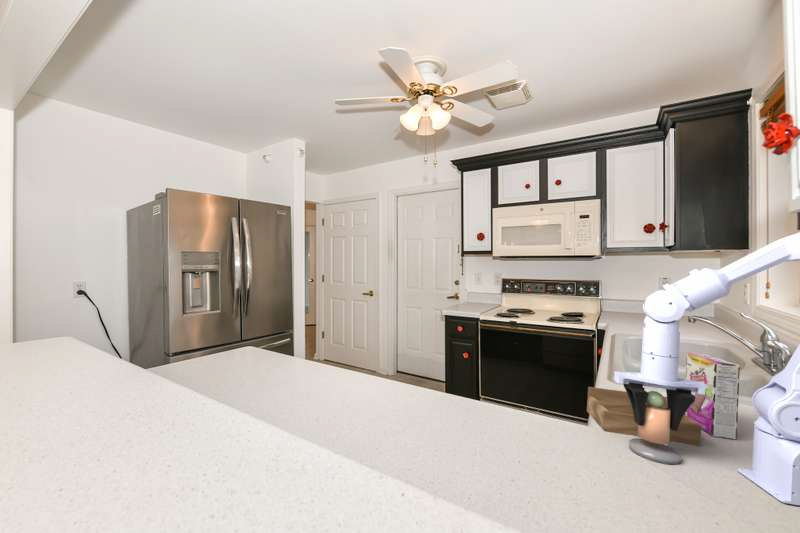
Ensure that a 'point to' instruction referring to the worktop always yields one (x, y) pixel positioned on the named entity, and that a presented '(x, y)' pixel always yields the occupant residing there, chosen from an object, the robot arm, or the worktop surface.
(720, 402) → the candy bar box
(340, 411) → the worktop surface
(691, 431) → the tray
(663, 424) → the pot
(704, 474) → the worktop surface
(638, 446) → the saucer
